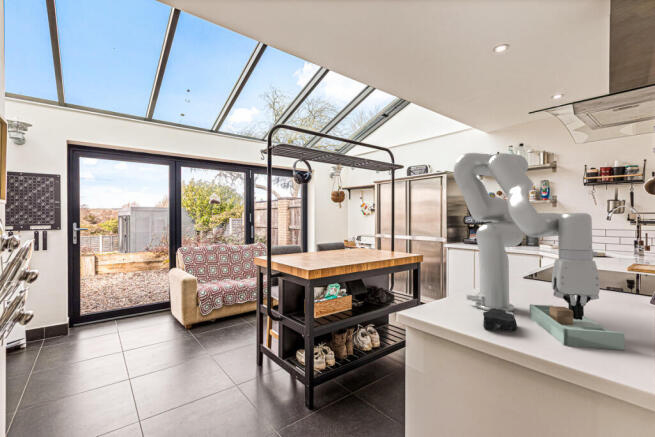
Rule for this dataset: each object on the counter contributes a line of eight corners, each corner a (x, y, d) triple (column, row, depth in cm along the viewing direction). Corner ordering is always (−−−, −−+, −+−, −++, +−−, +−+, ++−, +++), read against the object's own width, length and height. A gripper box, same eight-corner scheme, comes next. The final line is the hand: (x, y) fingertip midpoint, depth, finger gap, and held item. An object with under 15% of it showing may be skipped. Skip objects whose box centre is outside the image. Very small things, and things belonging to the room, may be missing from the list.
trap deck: (563, 345, 77) (563, 329, 77) (529, 317, 98) (529, 304, 98) (624, 350, 74) (624, 333, 74) (575, 320, 95) (575, 306, 95)
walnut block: (557, 324, 84) (557, 310, 84) (549, 319, 88) (549, 306, 88) (573, 325, 83) (573, 311, 83) (565, 320, 87) (564, 306, 87)
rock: (480, 320, 96) (480, 303, 96) (512, 323, 93) (511, 305, 93) (484, 332, 87) (484, 313, 87) (520, 336, 84) (519, 316, 83)
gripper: (597, 254, 87) (598, 315, 87) (539, 253, 91) (540, 312, 91) (615, 257, 80) (616, 324, 80) (551, 256, 84) (552, 320, 84)
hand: (576, 318), depth 85 cm, fingers closed
